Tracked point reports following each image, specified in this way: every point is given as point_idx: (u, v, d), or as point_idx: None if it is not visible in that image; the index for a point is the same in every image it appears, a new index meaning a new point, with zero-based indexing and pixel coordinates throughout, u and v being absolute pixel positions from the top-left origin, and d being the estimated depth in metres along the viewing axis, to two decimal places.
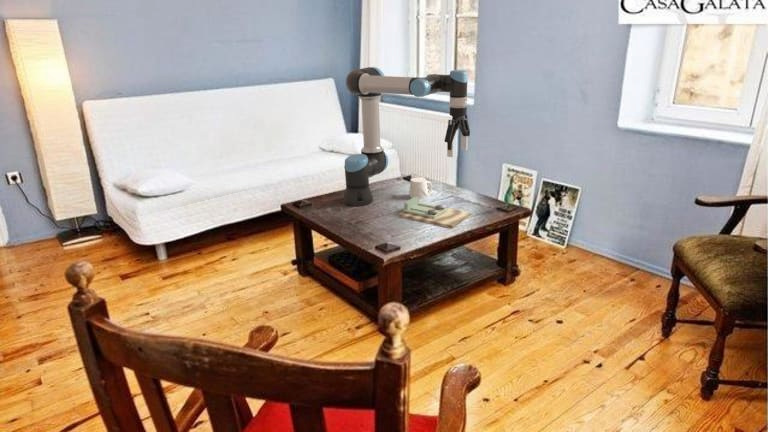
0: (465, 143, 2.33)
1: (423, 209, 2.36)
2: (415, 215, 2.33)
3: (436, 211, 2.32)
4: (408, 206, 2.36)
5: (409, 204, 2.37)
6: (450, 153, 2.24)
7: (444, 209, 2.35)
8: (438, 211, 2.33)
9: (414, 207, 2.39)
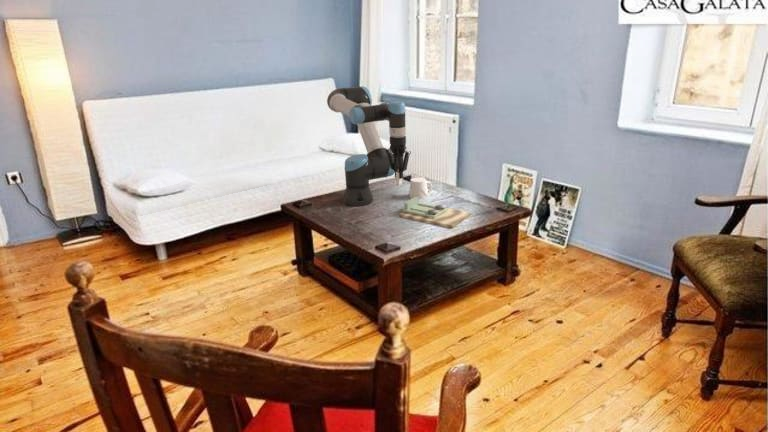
0: None
1: (423, 209, 2.36)
2: (415, 215, 2.33)
3: (436, 211, 2.32)
4: (408, 206, 2.36)
5: (409, 204, 2.37)
6: None
7: (444, 209, 2.35)
8: (438, 211, 2.33)
9: (414, 207, 2.39)
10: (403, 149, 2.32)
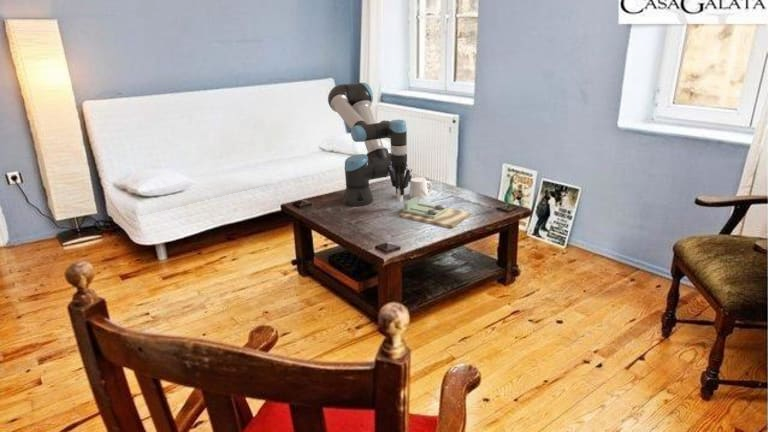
0: None
1: (423, 209, 2.36)
2: (415, 215, 2.33)
3: (436, 211, 2.32)
4: (408, 206, 2.36)
5: (409, 204, 2.37)
6: None
7: (444, 209, 2.35)
8: (438, 211, 2.33)
9: (414, 207, 2.39)
10: (404, 167, 2.34)
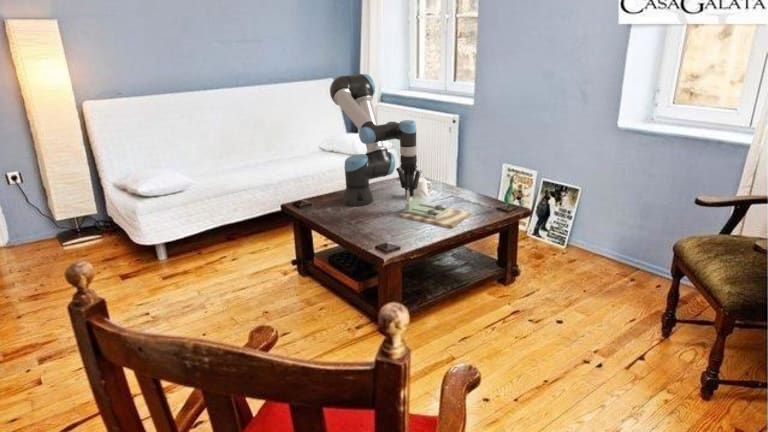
0: None
1: (425, 209, 2.35)
2: (415, 215, 2.33)
3: (438, 212, 2.32)
4: (409, 206, 2.36)
5: (410, 204, 2.37)
6: None
7: (446, 209, 2.34)
8: (440, 211, 2.32)
9: (415, 207, 2.38)
10: (414, 168, 2.31)
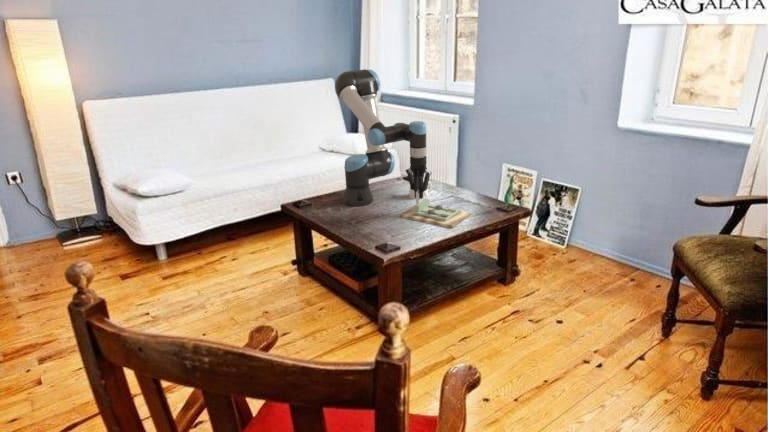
0: None
1: None
2: (415, 215, 2.33)
3: (448, 214, 2.29)
4: (419, 208, 2.33)
5: (420, 206, 2.34)
6: None
7: (456, 211, 2.32)
8: (450, 213, 2.29)
9: (425, 209, 2.35)
10: (424, 169, 2.29)
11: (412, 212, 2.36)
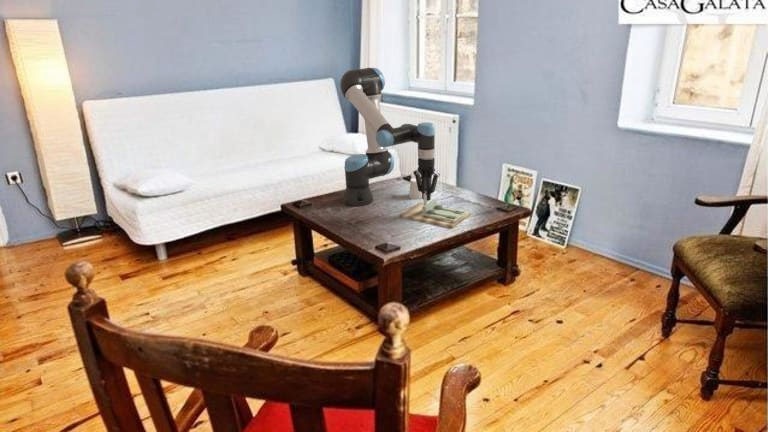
0: None
1: (442, 213, 2.30)
2: (415, 215, 2.33)
3: (456, 215, 2.27)
4: (426, 210, 2.31)
5: (427, 208, 2.31)
6: None
7: (463, 213, 2.29)
8: (457, 215, 2.27)
9: None
10: (432, 171, 2.26)
11: (412, 212, 2.36)
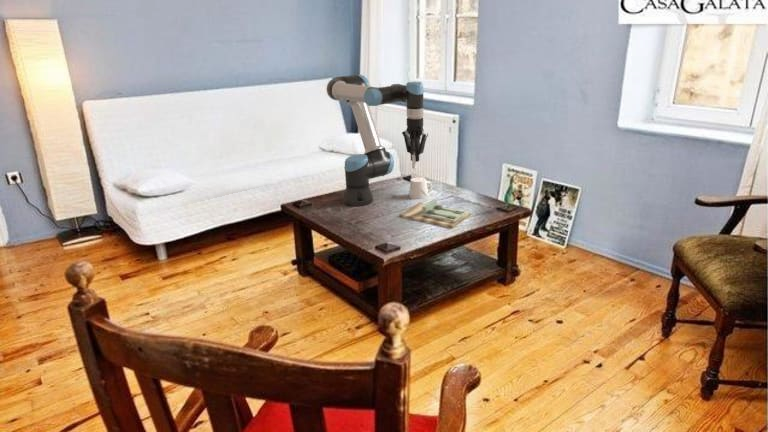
0: None
1: (442, 213, 2.30)
2: (415, 215, 2.33)
3: (456, 215, 2.27)
4: (426, 209, 2.31)
5: (427, 208, 2.31)
6: None
7: (463, 213, 2.29)
8: (457, 215, 2.27)
9: None
10: (420, 131, 2.25)
11: (412, 212, 2.36)
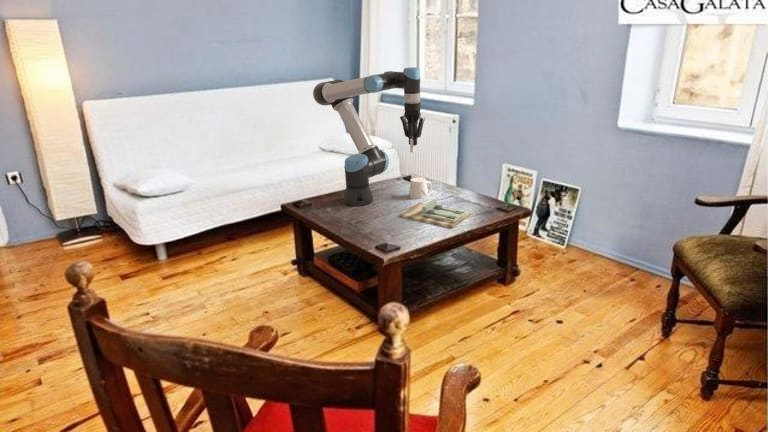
0: None
1: (442, 213, 2.30)
2: (415, 215, 2.33)
3: (456, 215, 2.27)
4: (426, 209, 2.31)
5: (427, 208, 2.31)
6: None
7: (463, 213, 2.29)
8: (457, 215, 2.27)
9: None
10: (418, 115, 2.33)
11: (412, 212, 2.36)
